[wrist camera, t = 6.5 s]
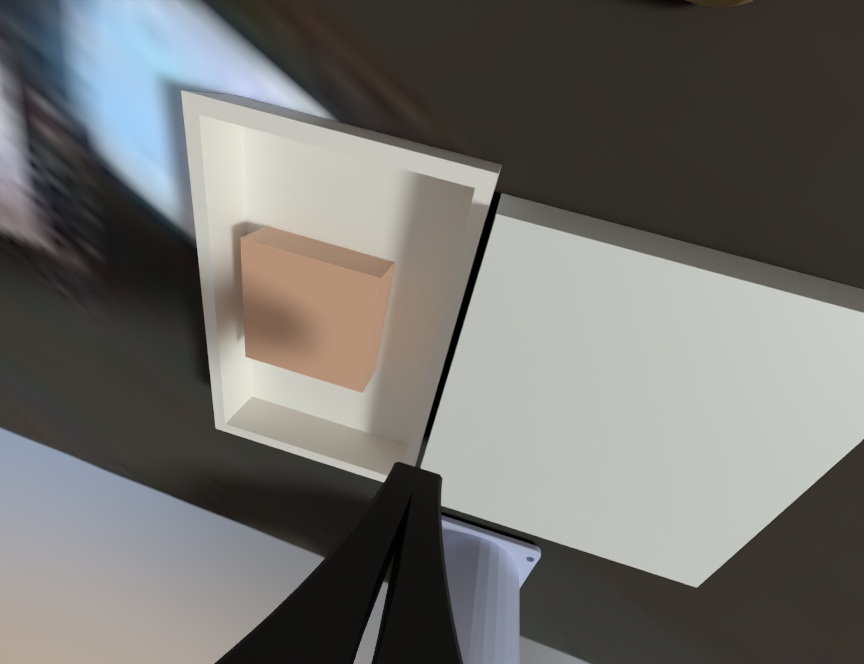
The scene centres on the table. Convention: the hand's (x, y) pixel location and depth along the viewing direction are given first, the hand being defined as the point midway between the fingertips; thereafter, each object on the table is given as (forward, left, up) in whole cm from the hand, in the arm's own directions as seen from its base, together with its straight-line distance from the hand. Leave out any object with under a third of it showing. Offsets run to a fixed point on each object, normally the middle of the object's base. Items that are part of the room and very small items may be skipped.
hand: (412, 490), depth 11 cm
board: (0, -7, -9) cm, 11 cm away
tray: (0, +6, -9) cm, 11 cm away
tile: (0, +7, -6) cm, 9 cm away
